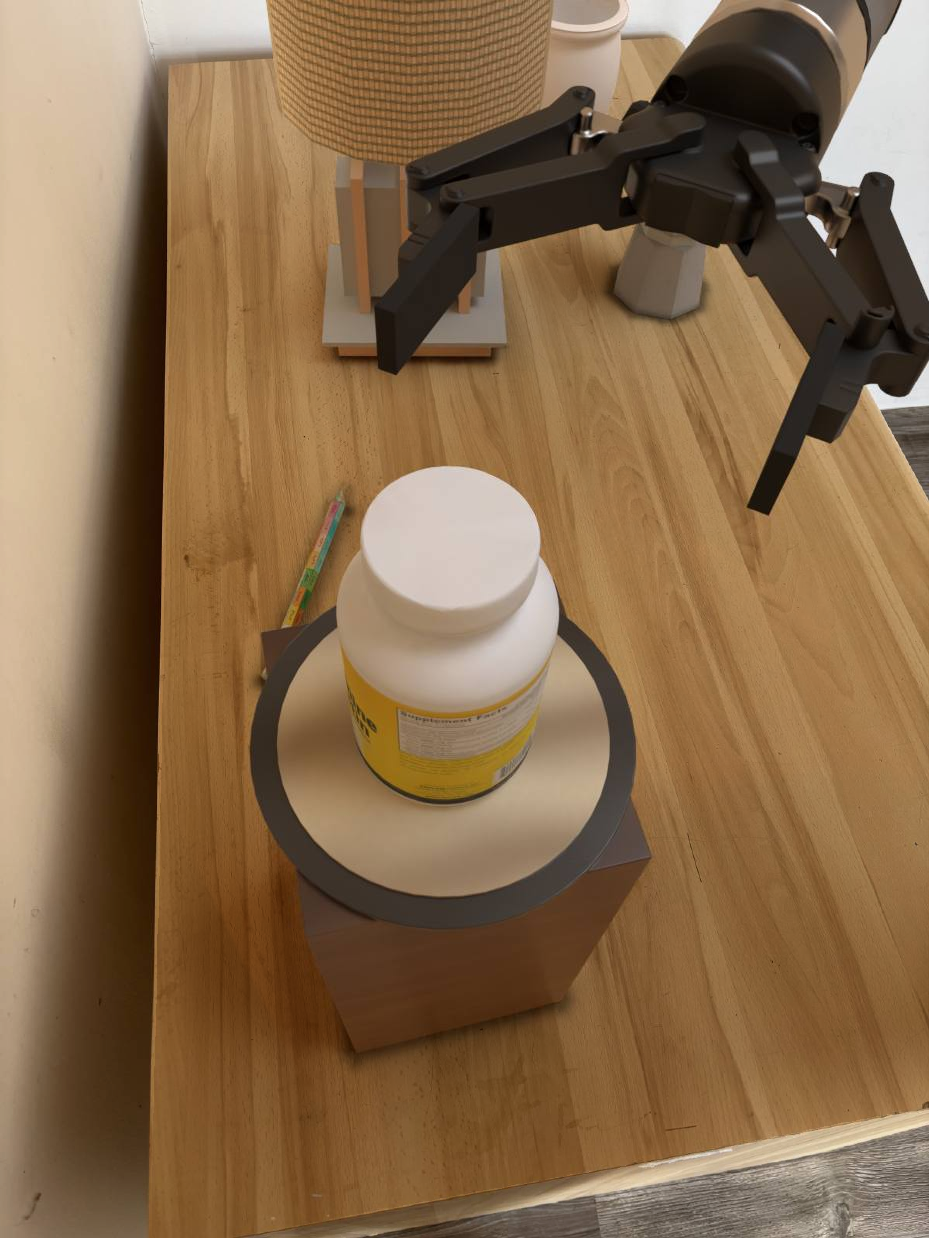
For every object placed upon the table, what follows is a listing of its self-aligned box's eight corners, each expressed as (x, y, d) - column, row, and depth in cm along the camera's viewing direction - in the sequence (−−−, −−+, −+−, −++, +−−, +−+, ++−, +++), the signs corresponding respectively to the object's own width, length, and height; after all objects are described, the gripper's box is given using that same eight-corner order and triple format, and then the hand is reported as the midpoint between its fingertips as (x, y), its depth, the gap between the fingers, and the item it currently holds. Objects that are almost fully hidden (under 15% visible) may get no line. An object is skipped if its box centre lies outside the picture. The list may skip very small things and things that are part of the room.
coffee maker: (737, 312, 87) (802, 122, 72) (663, 344, 84) (715, 154, 69) (639, 226, 94) (679, 35, 78) (567, 253, 91) (595, 61, 76)
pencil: (338, 488, 74) (260, 681, 64) (337, 479, 73) (258, 673, 63) (353, 491, 74) (278, 685, 64) (352, 482, 73) (276, 677, 63)
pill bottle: (393, 630, 36) (381, 412, 26) (554, 682, 35) (604, 475, 25) (324, 778, 33) (280, 592, 23) (500, 840, 32) (533, 673, 22)
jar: (623, 168, 99) (651, 15, 86) (540, 194, 96) (558, 39, 83) (568, 118, 104) (588, -34, 91) (488, 141, 101) (497, -12, 88)
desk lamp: (300, 389, 80) (226, -100, 50) (313, 245, 90) (257, -229, 61) (528, 389, 81) (587, -91, 51) (514, 247, 91) (556, -220, 62)
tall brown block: (582, 1015, 54) (694, 873, 31) (341, 1077, 51) (275, 973, 29) (518, 791, 61) (572, 545, 38) (304, 837, 59) (228, 606, 36)
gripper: (999, 262, 41) (900, 619, 31) (492, 109, 47) (260, 371, 36) (1103, 90, 35) (1022, 467, 25) (503, -63, 40) (225, 192, 30)
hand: (568, 410), depth 30 cm, fingers open, 13 cm apart
